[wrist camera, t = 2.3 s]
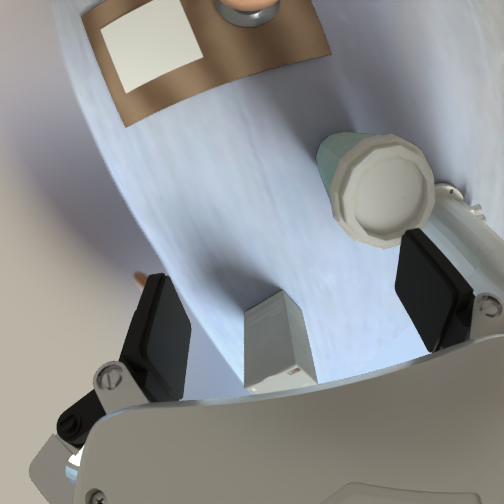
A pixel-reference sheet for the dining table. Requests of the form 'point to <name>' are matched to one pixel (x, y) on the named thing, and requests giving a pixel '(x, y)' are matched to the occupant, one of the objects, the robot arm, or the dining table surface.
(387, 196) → the disposable coffee cup
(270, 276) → the dining table surface
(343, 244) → the dining table surface
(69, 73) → the dining table surface
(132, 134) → the dining table surface
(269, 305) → the skincare box
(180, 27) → the pad
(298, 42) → the board
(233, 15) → the round metal knob
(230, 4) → the cap
